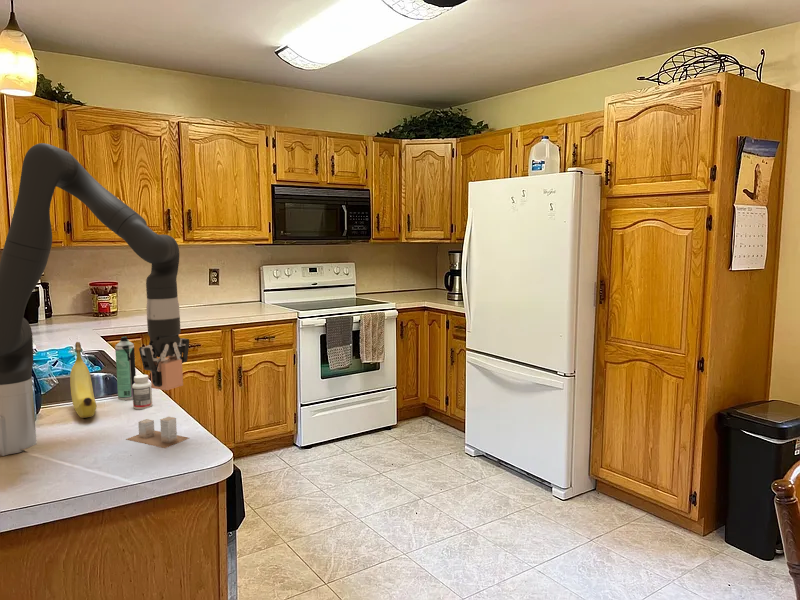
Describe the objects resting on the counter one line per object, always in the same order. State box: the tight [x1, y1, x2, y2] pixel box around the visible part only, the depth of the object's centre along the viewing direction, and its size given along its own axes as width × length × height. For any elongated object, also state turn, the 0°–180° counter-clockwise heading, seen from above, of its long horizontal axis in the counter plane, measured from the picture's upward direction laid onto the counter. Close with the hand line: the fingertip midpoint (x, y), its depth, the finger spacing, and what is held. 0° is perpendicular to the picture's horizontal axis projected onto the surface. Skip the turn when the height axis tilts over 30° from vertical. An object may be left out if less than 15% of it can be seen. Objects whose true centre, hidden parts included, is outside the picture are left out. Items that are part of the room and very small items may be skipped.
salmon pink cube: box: [150, 357, 184, 391], centre depth 145 cm, size 5×5×7 cm
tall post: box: [159, 416, 178, 443], centre depth 146 cm, size 3×3×6 cm
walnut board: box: [125, 429, 190, 449], centre depth 149 cm, size 8×14×1 cm, turn 64°
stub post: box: [137, 418, 155, 438], centre depth 150 cm, size 3×3×4 cm
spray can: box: [114, 336, 137, 401], centre depth 187 cm, size 6×6×20 cm
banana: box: [69, 341, 97, 419], centre depth 170 cm, size 23×6×20 cm, turn 34°
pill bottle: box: [132, 374, 153, 410], centre depth 177 cm, size 5×5×10 cm
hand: (167, 382), depth 145 cm, fingers closed on salmon pink cube, 5 cm apart
